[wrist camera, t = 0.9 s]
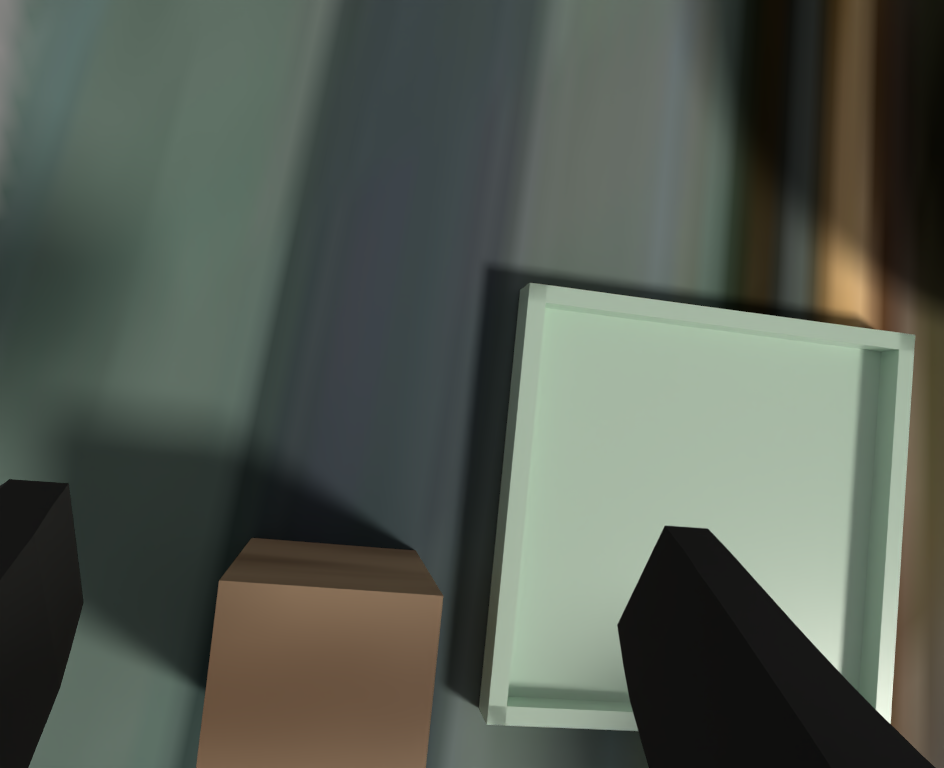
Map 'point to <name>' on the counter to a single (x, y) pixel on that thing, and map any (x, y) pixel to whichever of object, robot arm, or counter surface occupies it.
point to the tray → (689, 487)
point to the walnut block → (321, 659)
